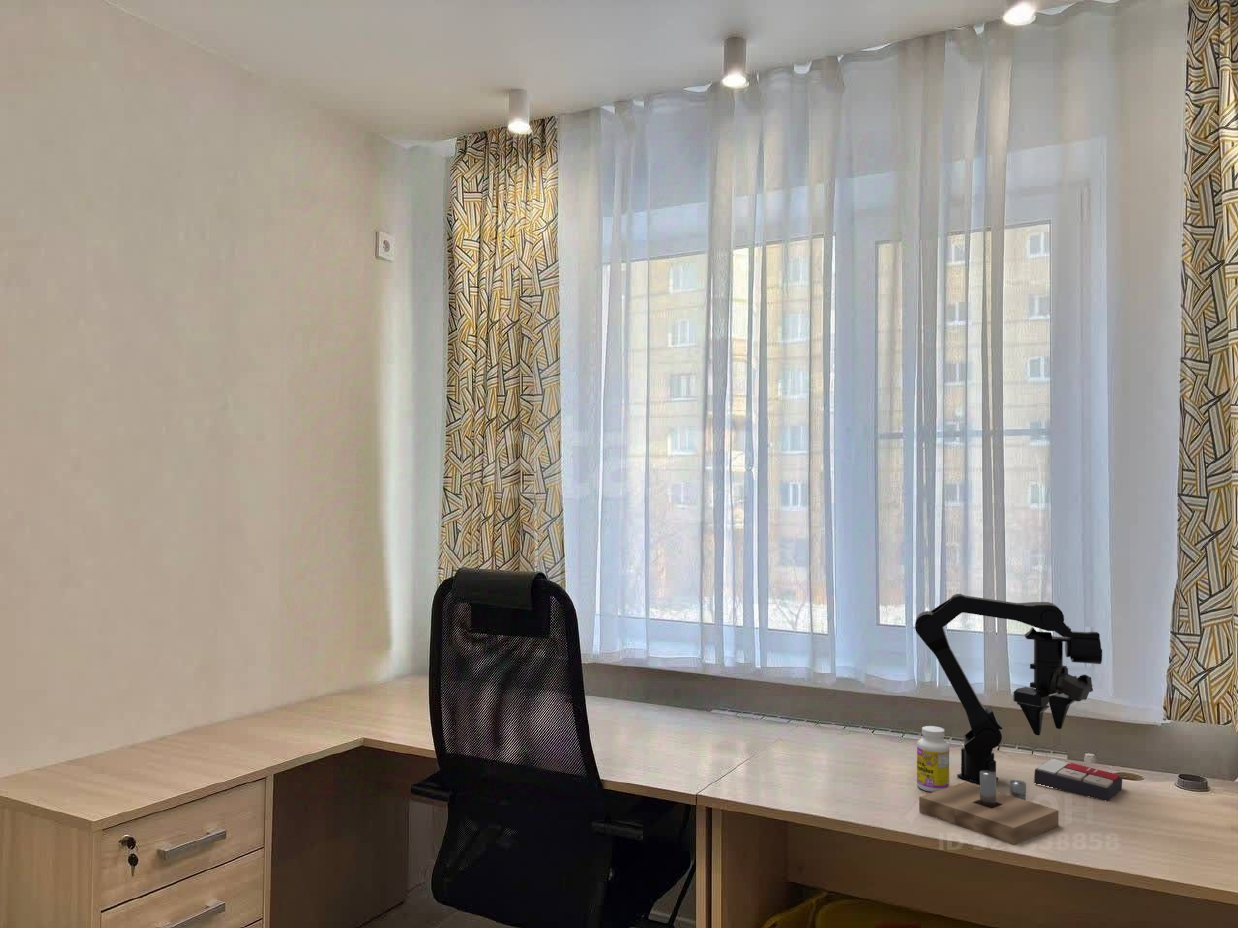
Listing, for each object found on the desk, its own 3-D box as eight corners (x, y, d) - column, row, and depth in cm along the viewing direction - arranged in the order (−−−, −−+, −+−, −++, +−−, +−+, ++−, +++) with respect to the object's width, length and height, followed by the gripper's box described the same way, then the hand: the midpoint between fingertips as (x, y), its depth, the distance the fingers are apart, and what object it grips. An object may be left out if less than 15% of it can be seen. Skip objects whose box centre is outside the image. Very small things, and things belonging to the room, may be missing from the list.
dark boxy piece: (1109, 785, 186) (1034, 765, 196) (1108, 805, 186) (1033, 785, 197) (1123, 773, 194) (1050, 755, 205) (1122, 793, 194) (1049, 774, 205)
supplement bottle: (910, 785, 195) (910, 726, 195) (933, 781, 197) (933, 723, 198) (932, 794, 189) (932, 733, 189) (956, 791, 191) (956, 730, 192)
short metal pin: (1007, 803, 184) (1007, 781, 184) (1015, 800, 186) (1015, 778, 186) (1021, 807, 182) (1021, 785, 182) (1028, 804, 183) (1028, 782, 184)
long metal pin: (976, 817, 175) (976, 771, 176) (985, 814, 177) (985, 769, 178) (990, 822, 173) (990, 775, 173) (999, 819, 175) (999, 773, 175)
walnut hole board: (919, 811, 178) (919, 796, 179) (964, 796, 188) (964, 781, 188) (1014, 844, 162) (1014, 827, 162) (1058, 825, 172) (1058, 809, 172)
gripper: (1063, 671, 184) (1063, 747, 183) (1106, 662, 195) (1106, 733, 194) (1012, 662, 193) (1011, 734, 192) (1056, 654, 204) (1055, 722, 203)
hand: (1048, 731), depth 195 cm, fingers open, 9 cm apart
